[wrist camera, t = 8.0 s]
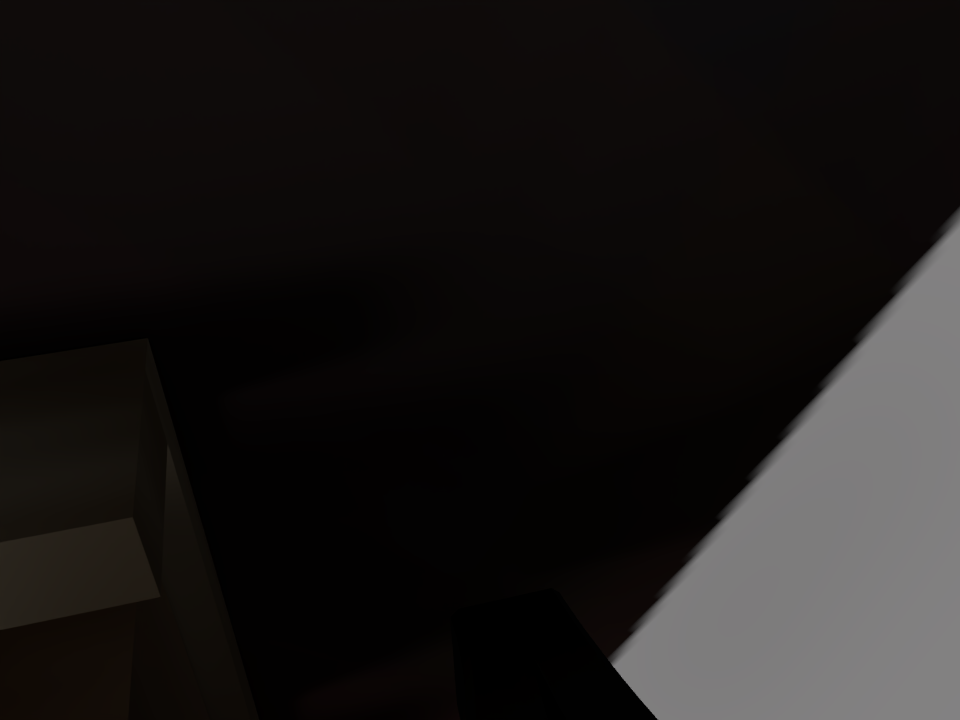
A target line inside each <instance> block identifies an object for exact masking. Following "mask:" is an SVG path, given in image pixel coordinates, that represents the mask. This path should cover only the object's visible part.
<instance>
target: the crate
mask: <svg viewBox="0 0 960 720" xmlns="http://www.w3.org/2000/svg"><path fill="white" fill-rule="evenodd" d="M0 720H210V719H209V716H208V713H207V710H206V708H205V705H204V702H203V699H202V696H201V693H200V690H199V687H198V684H197V682H196V679H195V676H194V673H193V670H192V667H191V664H190V661H189V658H188V656H187V653H186V650H185V647H184V644H183V641H182V638H181V635H180V632H179V629H178V627H177V624H176V621H175V618H174V615H173V612H172V609H171V606H170V603H169V601H168V598H167V595H166V592H165V589H164V586H163V583H162V580H161V597H158V598H153V599H148V600H143V601H138V602H133V603H129V604H124V605H119V606H114V607H109V608H105V609H100V610H95V611H90V612H85V613H80V614H76V615H71V616H66V617H61V618H56V619H51V620H47V621H42V622H37V623H32V624H27V625H23V626H18V627H13V628H8V629H3V630H0Z"/></svg>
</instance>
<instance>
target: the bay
mask: <svg viewBox="0 0 960 720" xmlns="http://www.w3.org/2000/svg"><path fill="white" fill-rule="evenodd" d="M161 580H162V583H163V586H164V589H165V592H166V595H167V598H168V601H169V603H170V606H171V609H172V612H173V615H174V618H175V621H176V624H177V627H178V629H179V632H180V635H181V638H182V641H183V644H184V647H185V650H186V653H187V656H188V658H189V661H190V664H191V667H192V670H193V673H194V676H195V679H196V682H197V684H198V687H199V690H200V693H201V696H202V699H203V702H204V705H205V708H206V710H207V713H208V716H209V719H210V720H259V717H258V714H257V710H256V707H255V703H254V700H253V697H252V693H251V690H250V686H249V683H248V679H247V676H246V673H245V669H244V666H243V662H242V659H241V655H240V652H239V649H238V645H237V642H236V638H235V635H234V631H233V628H232V625H231V621H230V618H229V614H228V611H227V607H226V604H225V601H224V597H223V594H222V590H221V587H220V584H219V580H218V577H217V573H216V570H215V566H214V563H213V560H212V556H211V553H210V549H209V546H208V542H207V539H206V536H205V532H204V529H203V525H202V522H201V518H200V515H199V512H198V508H197V505H196V501H195V498H194V494H193V491H192V488H191V484H190V481H189V477H188V474H187V470H186V467H185V464H184V460H183V457H182V453H181V450H180V447H179V443H178V440H177V436H176V433H175V429H174V426H173V423H172V419H171V416H170V412H169V409H168V405H167V402H166V399H165V395H164V392H163V388H162V385H161V381H160V378H159V375H158V371H157V368H156V364H155V361H154V357H153V354H152V351H151V347H150V344H149V340H148V338H145V339H138V340H132V341H125V342H119V343H113V344H106V345H100V346H93V347H87V348H81V349H74V350H68V351H61V352H55V353H49V354H42V355H36V356H30V357H23V358H17V359H10V360H4V361H0V630H3V629H8V628H13V627H18V626H23V625H27V624H32V623H37V622H42V621H47V620H51V619H56V618H61V617H66V616H71V615H76V614H80V613H85V612H90V611H95V610H100V609H105V608H109V607H114V606H119V605H124V604H129V603H133V602H138V601H143V600H148V599H153V598H158V597H161Z"/></svg>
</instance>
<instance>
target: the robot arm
mask: <svg viewBox="0 0 960 720" xmlns="http://www.w3.org/2000/svg"><path fill="white" fill-rule="evenodd" d="M451 630H452V643H453V656H454V669H455V682H456V695H457V705H458V710H459V714H460V719H461V720H657V718H656V717H655V716H654V715H653V714H652V712H651V711H650V710H649V709H648V708H647V707H646V706H645V705H644V703H643V702H642V701H641V700H640V699H639V698H638V696H637V695H636V694H635V693H634V692H633V690H632V689H631V688H630V687H629V686H628V684H627V683H626V682H625V681H624V680H623V679H622V677H621V676H620V675H619V673H618V672H617V671H616V669H615V668H614V667H613V666H612V664H611V663H610V662H609V661H608V659H607V658H606V657H605V656H604V654H603V653H602V652H601V650H600V649H599V648H598V646H597V645H596V644H595V642H594V641H593V640H592V638H591V637H590V636H589V634H588V633H587V632H586V630H585V629H584V628H583V626H582V625H581V624H580V622H579V621H578V619H577V618H576V616H575V615H574V614H573V612H572V611H571V609H570V608H569V606H568V605H567V603H566V602H565V600H564V599H563V597H562V596H561V594H560V593H559V592H557V591H556V590H554V589H552V588H550V589H546V590H541V591H537V592H532V593H528V594H524V595H519V596H515V597H510V598H506V599H501V600H497V601H492V602H488V603H483V604H479V605H474V606H470V607H465V608H461V609H458V610H457V611H456V612H455V613H454V614H453V615H452V616H451Z"/></svg>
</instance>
